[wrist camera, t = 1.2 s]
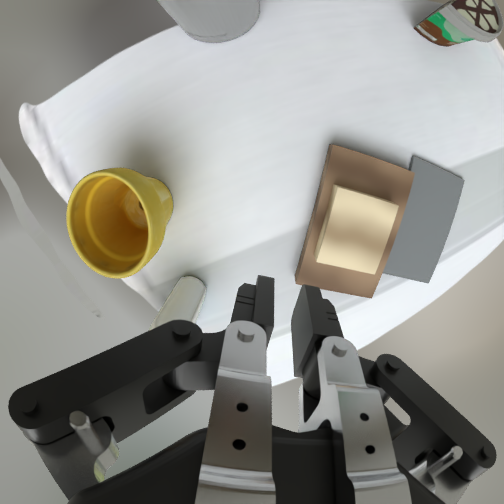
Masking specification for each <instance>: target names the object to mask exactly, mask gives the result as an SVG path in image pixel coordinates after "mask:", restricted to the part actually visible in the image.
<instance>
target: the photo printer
mask: <svg viewBox="0 0 504 504" xmlns="http://www.w3.org/2000/svg"><path fill="white" fill-rule="evenodd" d="M205 295H206V287H205V286H204V284H203V283H202V282H201V281H200V280H199V279H197V278H195V277H191V276H187V277H181V278H180V280H179V281H178V282H177V284H176V286H175V287H174V289H173V290H172V292H171V294H170V295H169V297H168V298H167V300H166V302H165V303H164V305H163V306H162V308H161V310H160V311H159V313H158V314H157V316H156V318H155V320H154V321H153V323H152V324H151V326H150V328H149V331H150V330H152V329H154V328H156V327H158V326H160V325H162V324H164V323H167V322H169V321H172V320H180V319H181V320H187V321H191V322H193V323H196V321H197V318H198V315H199V313H200V310H201V307H202V304H203V302H204V299H205Z"/></svg>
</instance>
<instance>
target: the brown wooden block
mask: <svg viewBox="0 0 504 504" xmlns="http://www.w3.org/2000/svg"><path fill="white" fill-rule="evenodd" d="M414 175H415V173H414V172H412V171H409V170H407V169H404V168H402V167H399V166H396V165H394V164H391V163H388V162H386V161H383V160H380V159H377V158H374V157H371V156H369V155H366V154H363V153H360V152H356V151H353V150H350V149H347V148H344V147H340V146H337V145H333V144H329V148H328V152H327V157H326V161H325V165H324V169H323V173H322V178H321V182H320V186H319V190H318V194H317V198H316V201H315V205H314V209H313V213H312V217H311V220H310V224H309V228H308V231H307V235H306V239H305V242H304V246H303V249H302V253H301V256H300V260H299V263H298V267H297V270H296V273H295V282H296V284H299V285H303V284H306V285H311V286H316V287H319V288H320V289H324V290H329V291H335V292H340V293H345V294H351V295H356V296H361V297H367V298H372V296H373V294H374V292H375V289H376V287H377V285H378V282H379V280H380V278H381V275H382V273H383V270H384V268H385V265H386V263H387V260H388V257H389V255H390V252H391V249H392V247H393V244H394V241H395V238H396V235H397V232H398V229H399V226H400V223H401V220H402V217H403V214H404V211H405V208H406V204H407V201H408V197H409V194H410V190H411V187H412V183H413V179H414ZM333 184H335V185H339V186H342V187H346V188H349V189H353V190H356V191H359V192H363V193H366V194H369V195H373V196H376V197H379V198H382V199H385V200H388V201H391V202H393V203H395V204H397V205H398V206H399V207H398V210H397V214H396V217H395V220H394V223H393V226H392V229H391V232H390V235H389V238H388V241H387V244H386V246H385V249H384V252H383V255H382V257H381V260H380V263H379V265H378V268H377V270H376V273H375V275H374V274H370V273H365V272H360V271H356V270H351V269H346V268H342V267H337V266H332V265H328V264H323V263H318V262H316V259H315V256H314V252H315V249H316V246H317V242H318V239H319V236H320V232H321V229H322V225H323V222H324V218H325V214H326V211H327V207H328V203H329V200H330V196H331V192H332V188H333Z"/></svg>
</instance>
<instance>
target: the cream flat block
mask: <svg viewBox="0 0 504 504" xmlns="http://www.w3.org/2000/svg"><path fill="white" fill-rule="evenodd" d="M398 207H399V206H398V205H397V204H395V203H393V202H391V201H388V200H385V199H382V198H379V197H376V196H373V195H369V194H366V193H363V192H359V191H356V190H353V189H349V188H346V187H342V186H339V185H335V184H333V188H332V192H331V196H330V200H329V203H328V207H327V211H326V214H325V218H324V222H323V225H322V229H321V232H320V236H319V239H318V242H317V246H316V249H315V252H314V256H315V259H316V262H318V263H323V264H328V265H332V266H337V267H342V268H346V269H351V270H356V271H360V272H365V273H370V274H374V275H375V273H376V270H377V268H378V265H379V263H380V260H381V257H382V255H383V252H384V249H385V246H386V244H387V241H388V238H389V235H390V232H391V229H392V226H393V223H394V220H395V217H396V214H397V210H398Z"/></svg>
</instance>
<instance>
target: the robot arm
mask: <svg viewBox="0 0 504 504" xmlns="http://www.w3.org/2000/svg"><path fill="white" fill-rule="evenodd" d="M156 1H157V2H158V3H159V4H160V5H161V6H162V7H163V8H164V9H165V10H166V12H167V13H169V15H170V16H171V17H172V18H173V19H174V20H175V21H176V22H177V23H178V25H179V26H180V27H181V28H182V29H183V30H184V31H185V32H186V33H187V34H188V35H189V36H190V37H192V38H194V39H196V40H199V41H202V42H208V43H219V42H225V41H229V40H232V39H235V38H237V37H239V36H241V35H243V34H244V33H246V32H247V31H248V30H250V29H251V27H252V26H253V25H254V24H255V23H256V21H257V19H258V16H259V12H260V8H259V0H156ZM273 328H274V278H271V277H266V276H261V275H258V278H257V282H256V285H251V284H247V283H244V284H243V285H242V286H240V287H239V288H238V293H237V297H236V301H235V305H234V309H233V313H232V318H231V322H230V324H229V325H228V326H227V328H226V329H225V330H223V331H221V332H217V333H202V330H201V329H200V327H199V326H198V325H196V324H195V323H193V322H191V321H187V320H181V319H180V320H172V321H169V322H167V323H164V324H162V325H160V326H158V327H156V328H154V329H152V330H150V331H148V332H145V333H143V334H141V335H139V336H137V337H135V338H133V339H130V340H128V341H126V342H124V343H122V344H120V345H117V346H115V347H113V348H111V349H109V350H106V351H104V352H102V353H100V354H98V355H95V356H93V357H91V358H89V359H86V360H84V361H82V362H80V363H77V364H75V365H73V366H71V367H68V368H66V369H64V370H61V371H59V372H57V373H54V374H52V375H50V376H47V377H45V378H42V379H40V380H38V381H35V382H33V383H31V384H28V385H26V386H24V387H21V388H19V389H17V390H16V391H15V392H14V393H13V394H12V396H11V397H10V400H9V406H8V408H9V413H10V416H11V418H12V419H13V421H14V422H15V423H16V424H17V426H18V427H19V428H20V429H21V430H22V431H23V433H24V435H25V436H26V438H27V439H28V440H29V441H30V442H31V443H32V444H33V445H34V446H35V447H36V449H37V451H38V453H39V454H40V456H41V458H42V460H43V462H44V463H45V465H46V467H47V468H48V470H49V472H50V473H51V475H52V476H53V478H54V480H55V481H56V482H57V484H58V485H59V487H60V488H61V490H62V491H63V493H64V494H65V496H66V497H67V498H68V500H69V502H68V504H457V502H458V501H459V499H460V498H461V496H462V495H463V493H464V492H465V490H466V489H467V487H468V485H469V484H470V482H471V481H473V480H474V479H475V478H477V477H478V476H480V475H481V474H482V473H484V472H485V471H487V470H488V469H489V468H491V467H492V466H493V465H494V463H495V461H496V450H495V447H494V446H493V444H492V443H491V442H490V441H489V440H488V439H487V438H486V437H485V436H484V435H483V434H482V433H481V432H480V431H479V430H477V429H476V428H475V427H474V426H473V425H472V424H471V423H470V422H469V421H468V420H467V419H466V418H465V417H464V416H462V415H461V414H460V413H459V412H458V411H457V410H456V409H455V408H454V407H453V406H451V404H449V403H448V402H447V401H446V400H445V399H444V398H443V397H442V396H440V394H438V393H437V392H436V391H435V390H434V389H433V388H432V387H431V386H429V384H427V383H426V382H425V381H424V380H423V379H422V378H421V377H420V376H418V375H417V374H416V373H415V372H414V371H413V370H412V369H411V368H410V367H408V366H407V365H406V364H405V363H404V362H403V361H402V360H401V359H399V358H397V357H396V356H394V355H390V354H382V355H380V356H379V357H378V358H377V360H376V361H375V362H374V361H371V360H368V359H365V358H362V357H360V356H358V353H357V350H356V348H355V346H354V345H353V344H352V343H351V342H350V341H348V340H346V339H344V337H343V333H342V330H341V327H340V324H339V321H338V317H337V315H336V311H335V308H334V306H333V305H332V304H331V302H330V301H329V300H328V299H323V298H322V295H321V291H320V288H319V287H316V286H311V285H306V284H303V285H302V287H301V290H300V293H299V296H298V299H297V302H296V305H295V308H294V311H293V315H292V320H291V331H292V346H293V363H294V377H301V378H303V383H302V385H301V387H300V389H299V430H298V433H297V432H292V431H289V430H286V429H283V428H280V427H276V426H273V425H272V401H271V400H272V396H271V395H272V391H271V377H270V376H266V350H267V346H268V343H269V340H270V337H271V334H272V331H273ZM196 390H215V391H214V397H213V402H212V407H211V413H210V419H209V424H208V427H207V428H203V429H200V430H197V431H194V432H192V433H190V434H188V435H186V436H185V437H183V438H182V439H180V440H178V441H177V442H175V443H174V444H172V445H170V446H168V447H167V448H165V449H163V450H162V451H160V452H158V453H157V454H155V455H153V456H151V457H149V458H148V459H146V460H144V461H142V462H140V463H139V464H137V465H135V466H133V467H131V468H129V469H127V470H125V471H123V472H121V473H119V474H117V475H115V476H113V477H111V478H108V479H106V480H104V476H105V473H106V471H107V469H108V468H109V467H110V466H112V465H113V464H114V463H115V462H116V460H117V458H118V455H119V448H118V445H117V443H118V442H120V441H122V440H124V439H125V438H127V437H128V436H130V435H132V434H133V433H135V432H137V431H138V430H140V429H142V428H143V427H145V426H146V425H148V424H150V423H151V422H153V421H154V420H156V419H157V418H159V417H160V416H162V415H163V414H165V413H166V412H168V411H169V410H171V409H172V408H174V407H175V406H177V405H178V404H180V403H181V402H183V401H184V400H185V399H187V398H188V397H190V396H191V395H192V394H194V393H195V392H196ZM390 397H391V398H392V399H393V400H394V401H395V402H396V403H397V404H398V405H399V406H400V407H401V408H402V409H403V410H404V411H405V412H406V413H407V414H408V415H409V416H410V419H411V423H410V425H404V424H403V423H401V422H400V421H399V420H398V419H397V418H396V417H395V416H394V415H393V414H392V413H391V412H390V411H389V410H388V408H387V407H386V406H384V404H385V403H386V402H387V400H388V399H389V398H390Z"/></svg>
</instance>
